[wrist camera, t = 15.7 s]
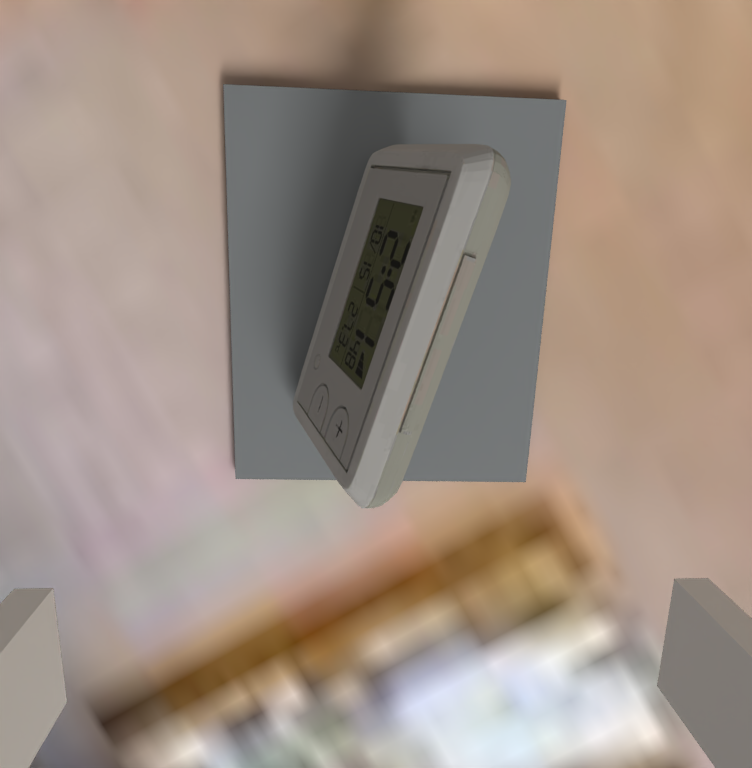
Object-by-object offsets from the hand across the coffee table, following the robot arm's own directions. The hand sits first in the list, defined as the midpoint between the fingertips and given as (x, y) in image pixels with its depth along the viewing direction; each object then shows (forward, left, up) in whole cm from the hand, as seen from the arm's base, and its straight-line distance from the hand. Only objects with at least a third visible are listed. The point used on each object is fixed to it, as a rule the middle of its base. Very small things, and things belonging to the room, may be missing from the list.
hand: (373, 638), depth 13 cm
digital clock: (+4, -1, -23) cm, 24 cm away
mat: (+4, -2, -24) cm, 24 cm away
